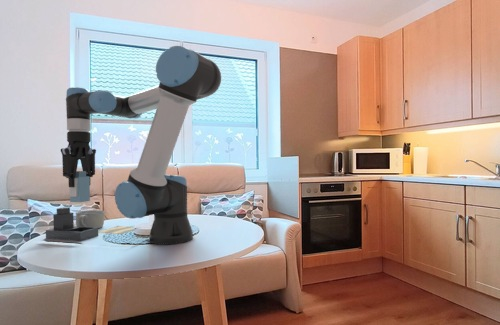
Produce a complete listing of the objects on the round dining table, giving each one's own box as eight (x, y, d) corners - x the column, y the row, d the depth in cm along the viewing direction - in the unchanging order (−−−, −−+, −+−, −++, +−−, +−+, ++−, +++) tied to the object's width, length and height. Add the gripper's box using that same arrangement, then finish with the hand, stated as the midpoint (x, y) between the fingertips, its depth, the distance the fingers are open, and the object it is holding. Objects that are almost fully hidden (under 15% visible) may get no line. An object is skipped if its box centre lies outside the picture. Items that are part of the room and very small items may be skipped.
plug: (89, 200, 114) (89, 171, 114) (79, 202, 110) (79, 171, 110) (80, 200, 116) (79, 171, 115) (70, 202, 111) (69, 171, 111)
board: (141, 229, 128) (141, 227, 128) (121, 236, 117) (121, 234, 117) (117, 228, 132) (117, 225, 132) (95, 235, 120) (95, 232, 120)
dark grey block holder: (98, 238, 115) (97, 207, 115) (80, 243, 107) (79, 210, 107) (65, 235, 120) (64, 206, 120) (45, 241, 112) (45, 209, 112)
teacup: (87, 227, 135) (87, 209, 135) (110, 227, 134) (110, 209, 134) (64, 235, 121) (63, 214, 121) (89, 235, 120) (89, 215, 120)
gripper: (90, 133, 122) (91, 192, 122) (48, 129, 105) (50, 198, 105) (105, 132, 120) (106, 193, 120) (65, 128, 103) (67, 198, 103)
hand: (80, 195), depth 113 cm, fingers closed on plug, 4 cm apart
